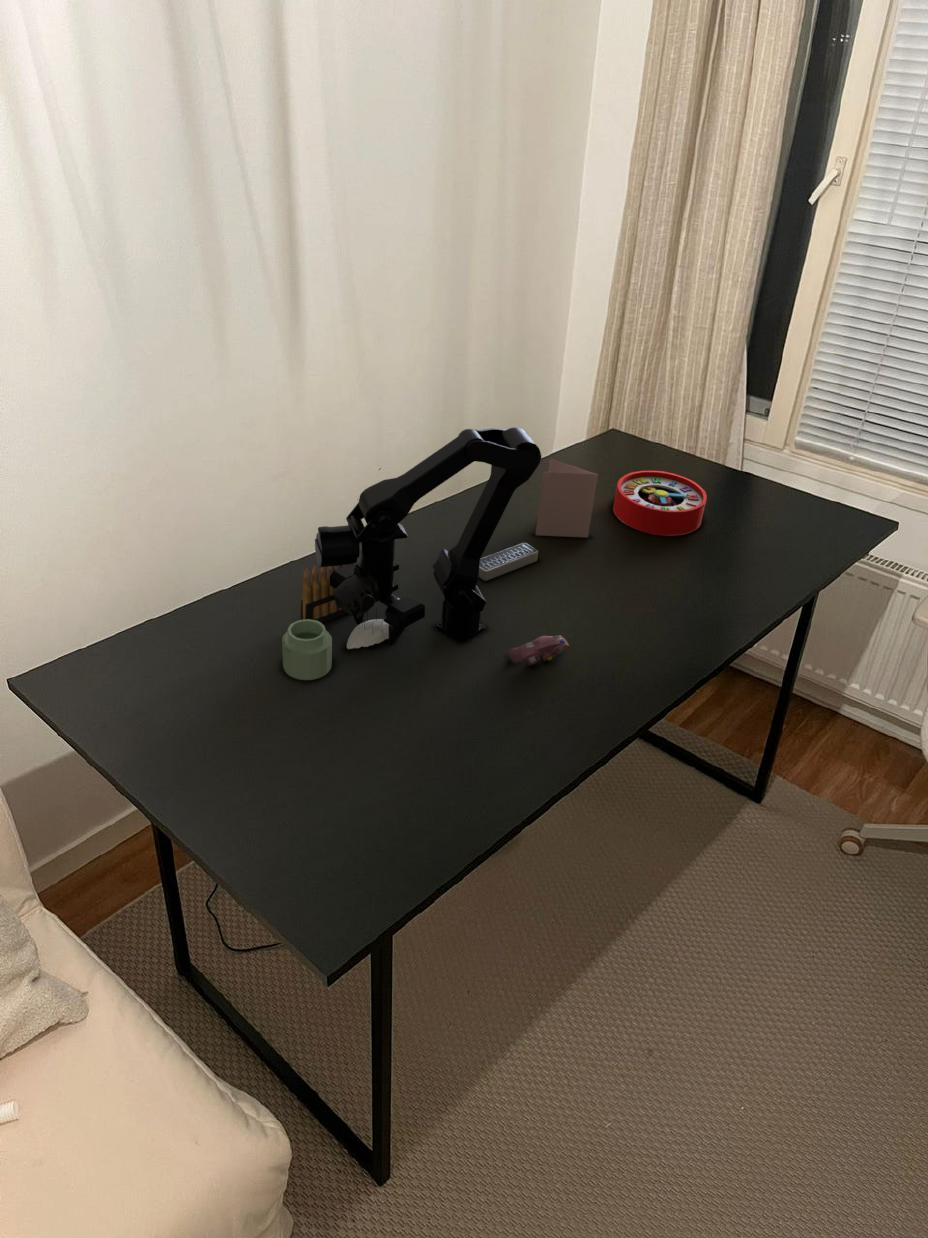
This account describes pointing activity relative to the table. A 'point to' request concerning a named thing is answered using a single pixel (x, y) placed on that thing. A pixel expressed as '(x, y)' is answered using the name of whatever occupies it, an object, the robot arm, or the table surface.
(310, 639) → the pale green cup
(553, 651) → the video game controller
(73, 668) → the table surface
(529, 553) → the multiport hub
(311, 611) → the ammunition clip
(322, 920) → the table surface
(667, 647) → the table surface
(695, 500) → the toy clock
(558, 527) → the greeting card
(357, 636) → the pincushion
